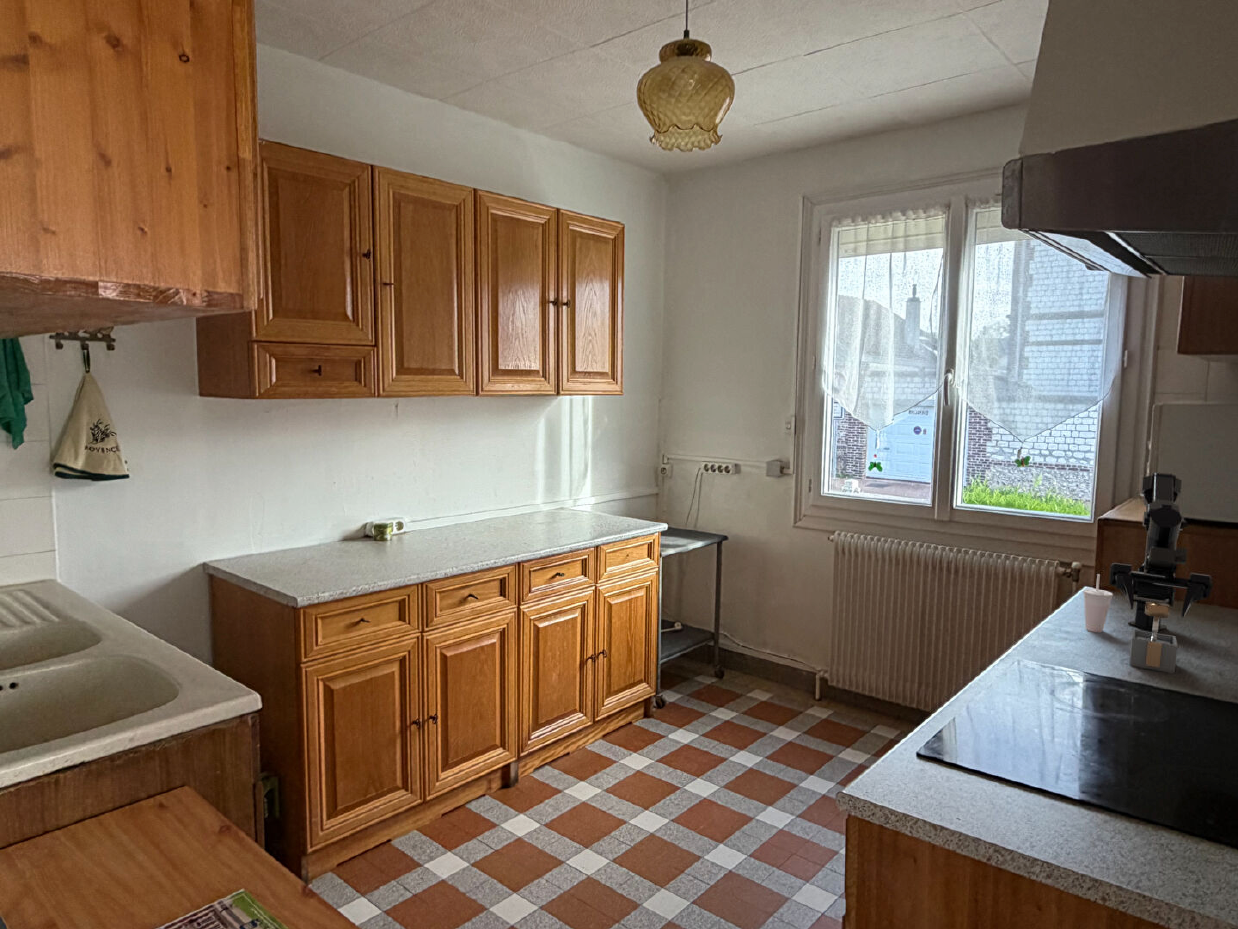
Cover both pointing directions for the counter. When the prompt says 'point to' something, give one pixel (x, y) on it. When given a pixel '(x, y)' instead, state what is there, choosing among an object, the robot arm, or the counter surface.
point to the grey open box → (1153, 652)
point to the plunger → (1156, 618)
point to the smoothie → (1096, 607)
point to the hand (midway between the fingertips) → (1157, 612)
